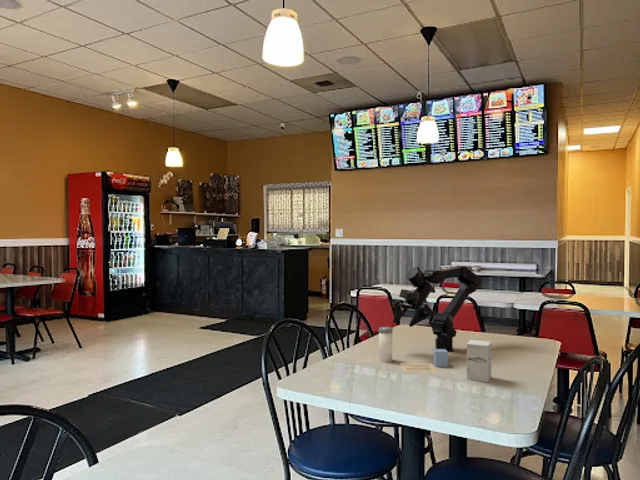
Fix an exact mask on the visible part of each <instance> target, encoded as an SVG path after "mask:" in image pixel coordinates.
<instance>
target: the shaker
mask: <svg viewBox="0 0 640 480" xmlns="http://www.w3.org/2000/svg"><path fill="white" fill-rule="evenodd" d="M393 329H394V328H393V327H391V326H381V327H378V354H379V355H378V360H379V362H383V363H391V362H393V331H394V330H393Z"/></svg>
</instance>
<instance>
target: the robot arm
mask: <svg viewBox="0 0 640 480" xmlns="http://www.w3.org/2000/svg"><path fill="white" fill-rule="evenodd" d="M404 275H405V276H404V277H405V279H406V280H407V281H408V282H409V283H410V285H412V287H414V288H415V289H414V288H413V289H411V290H409V289H403V288H401V290H400V292H399V295H398V297H399V298H403V299H404V301H403V299H397V298H396V299H395V298H394V299H393V300H392V302H391V304H392V306H393V307H394V316H393V321H392V322H393V324H396V323H397V322H398V321H399V320H401V318H402V317H404V316H405V315H406V312H407V311H408V310H410V311H414V315H413V317H412V318H411V321H410V322H409V324H408V327H410V328H412V327H413V326H415V325H417V324H418V323H420V322H422V321H425V320H426V319H427V320H428V319H429V318H430V319H431V318H432V316H433V315H434V310H433V309H432V308H431V306H430V305H428V301H427V299H428V297H429V296H430V294H435V293H436V289H435V286H432V285H433V284H435V285H438V284H441V283H443V282H444V281H445V280H447V279H450V278H451V279H452V278H455V277H456V278H457V279H456V280H458V281H459V282H458V290H457V291H456V292H455V294H454V296H453V297H452V299H451V300H450V302H449V303H448V304H447V306H446V307H445V309H444V311H442V312H439V311H438V312H436V313H435V315H434V316H433V318H432V320H431V323H430V326H431V330H432V334H433V335H436V337H435V338H434V343H435V345H434V347H435V348H434V349H446V351H447V352H454V349H453V348H454V347H453V346H454V345H453V343H454V342H453V338H455V337H456V336H457V330H456V329H455V327H454V318H455V317H456V315H457V314H458V312H459V311H460V309H461V308H462V306H463V304H464V303H465V301H466V300H467V298H468V297H469V296H470V295H472V294H473V293H475V292H476V291H477V290H478V289H479V288H480V286H481V284H482V282H481V281H482V280H481V279H480V277H479V276H478V275H477V274H476V273H475V272H473V271H472V270H470V269H469V268H468V267H467V266H466V265H465V266H464V265H456V266H453V267H448V268H443V269H425V270H424V271H423V272H422V270H421V269H420V268H419V266H414V267H412V268H410V269H409V270H408V271H407V272H406V273H405V274H404ZM405 302H406V303H405Z"/></svg>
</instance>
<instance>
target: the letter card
mask: <svg viewBox="0 0 640 480" xmlns="http://www.w3.org/2000/svg"><path fill="white" fill-rule="evenodd" d="M399 365H400V367H401V369H402V371H403V373H437V372H438V371H437V370H436V369H435V368H436V367H435V366H434V364H433V363H431V362H429V363H428V362H400V363H399Z"/></svg>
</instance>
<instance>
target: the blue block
mask: <svg viewBox="0 0 640 480" xmlns="http://www.w3.org/2000/svg"><path fill="white" fill-rule="evenodd" d="M432 352H433V355H432V356H433V357H432V358H433V360H432V361H433V363H432V365H433V366H434V368H448V367H449V365H448V364H449V363H448V362H449V361H448V359H449V357H448V356H449V355H448V354H449V351H446V349H436V348H433V350H432Z"/></svg>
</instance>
